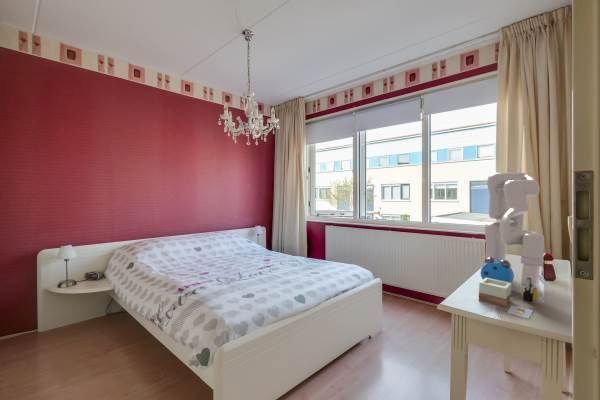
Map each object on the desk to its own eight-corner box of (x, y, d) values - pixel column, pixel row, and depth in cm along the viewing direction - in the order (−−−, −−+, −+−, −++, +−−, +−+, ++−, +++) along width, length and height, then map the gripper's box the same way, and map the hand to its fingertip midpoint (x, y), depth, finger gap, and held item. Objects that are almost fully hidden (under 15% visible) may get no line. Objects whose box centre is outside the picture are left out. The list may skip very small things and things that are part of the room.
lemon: (539, 306, 122) (540, 288, 121) (524, 304, 124) (525, 286, 123) (534, 301, 127) (535, 283, 126) (519, 299, 129) (520, 282, 128)
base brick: (484, 294, 134) (485, 286, 133) (510, 301, 126) (511, 292, 126) (478, 300, 127) (478, 292, 127) (505, 308, 119) (505, 298, 119)
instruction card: (512, 305, 122) (512, 305, 122) (532, 311, 117) (532, 310, 117) (506, 312, 115) (506, 312, 115) (528, 318, 110) (528, 318, 110)
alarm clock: (513, 289, 140) (514, 260, 140) (509, 292, 137) (511, 262, 136) (484, 282, 151) (485, 255, 150) (479, 284, 147) (480, 256, 146)
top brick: (485, 286, 133) (485, 277, 133) (511, 292, 126) (511, 283, 126) (478, 292, 127) (479, 282, 126) (505, 298, 119) (506, 288, 119)
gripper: (524, 255, 133) (523, 291, 134) (517, 262, 121) (515, 301, 122) (545, 259, 127) (543, 295, 128) (539, 266, 115) (537, 306, 116)
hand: (529, 298), depth 125 cm, fingers open, 9 cm apart
